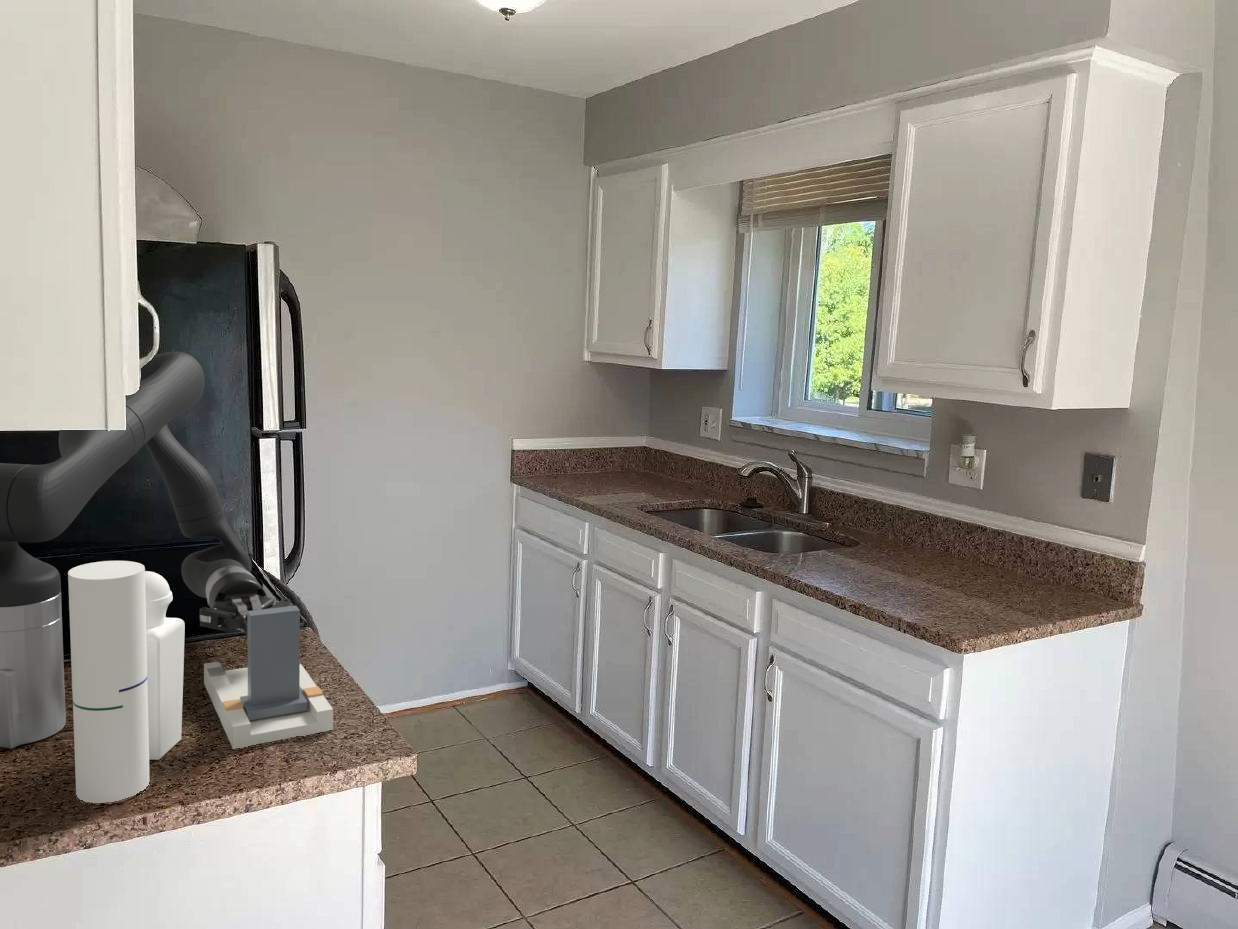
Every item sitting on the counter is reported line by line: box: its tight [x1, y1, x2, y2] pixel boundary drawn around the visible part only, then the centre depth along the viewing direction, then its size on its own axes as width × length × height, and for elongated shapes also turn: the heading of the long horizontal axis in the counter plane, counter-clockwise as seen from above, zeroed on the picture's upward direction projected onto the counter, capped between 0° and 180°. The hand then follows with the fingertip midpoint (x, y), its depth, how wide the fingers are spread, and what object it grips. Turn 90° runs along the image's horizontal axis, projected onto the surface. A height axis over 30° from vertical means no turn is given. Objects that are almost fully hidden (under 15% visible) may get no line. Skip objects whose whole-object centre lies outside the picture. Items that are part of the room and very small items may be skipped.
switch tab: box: [240, 605, 308, 721], centre depth 120 cm, size 5×7×13 cm
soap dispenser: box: [145, 570, 186, 761], centre depth 110 cm, size 6×6×22 cm
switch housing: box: [203, 660, 334, 750], centre depth 125 cm, size 22×12×3 cm, turn 32°
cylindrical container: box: [67, 560, 150, 803], centre depth 101 cm, size 7×7×25 cm
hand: (258, 631), depth 127 cm, fingers closed
